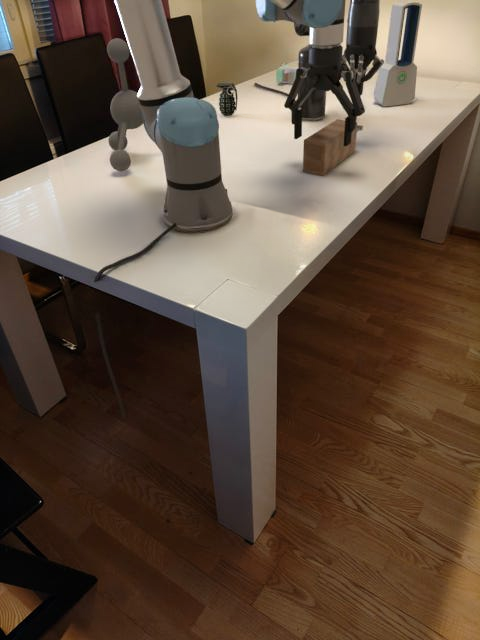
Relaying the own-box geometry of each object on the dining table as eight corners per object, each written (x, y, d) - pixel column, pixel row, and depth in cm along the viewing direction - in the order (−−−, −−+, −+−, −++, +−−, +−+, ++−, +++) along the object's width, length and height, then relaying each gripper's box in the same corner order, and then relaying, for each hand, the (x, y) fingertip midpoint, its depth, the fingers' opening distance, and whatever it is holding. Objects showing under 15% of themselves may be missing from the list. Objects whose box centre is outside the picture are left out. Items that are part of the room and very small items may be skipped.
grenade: (217, 117, 168) (214, 86, 162) (221, 112, 172) (219, 82, 166) (235, 117, 166) (233, 86, 160) (239, 113, 171) (238, 82, 165)
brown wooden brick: (334, 148, 138) (337, 119, 133) (354, 151, 135) (357, 121, 130) (302, 171, 126) (303, 139, 121) (323, 175, 123) (325, 143, 118)
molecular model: (194, 162, 134) (180, 38, 116) (114, 177, 128) (87, 49, 110) (171, 138, 152) (156, 27, 133) (100, 151, 146) (75, 36, 127)
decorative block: (299, 55, 215) (340, 58, 206) (298, 71, 219) (339, 75, 210) (267, 66, 199) (310, 70, 190) (267, 83, 203) (309, 88, 194)
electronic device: (382, 107, 168) (394, 4, 149) (371, 102, 174) (382, 2, 155) (414, 102, 170) (430, 0, 152) (403, 98, 176) (417, -1, 158)
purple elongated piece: (348, 138, 142) (349, 115, 138) (363, 140, 140) (365, 117, 136) (310, 164, 127) (311, 140, 123) (326, 167, 124) (328, 143, 121)
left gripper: (385, 44, 106) (375, 142, 119) (285, 40, 117) (285, 130, 130) (372, 50, 101) (363, 152, 114) (269, 46, 113) (271, 139, 126)
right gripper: (394, 21, 121) (384, 96, 131) (344, 20, 127) (339, 92, 137) (383, 26, 116) (374, 103, 126) (332, 24, 122) (327, 98, 133)
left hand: (321, 141), depth 122 cm, fingers open, 13 cm apart
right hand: (356, 97), depth 132 cm, fingers closed
